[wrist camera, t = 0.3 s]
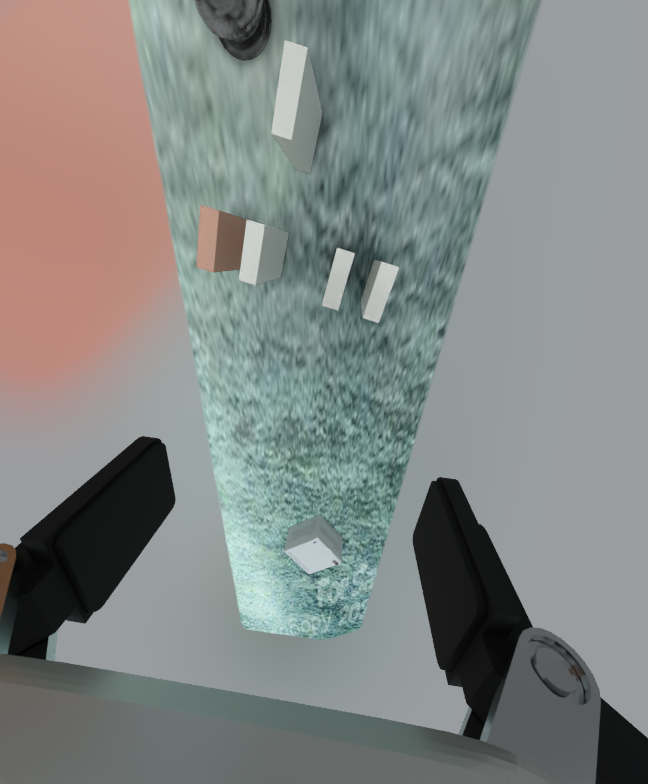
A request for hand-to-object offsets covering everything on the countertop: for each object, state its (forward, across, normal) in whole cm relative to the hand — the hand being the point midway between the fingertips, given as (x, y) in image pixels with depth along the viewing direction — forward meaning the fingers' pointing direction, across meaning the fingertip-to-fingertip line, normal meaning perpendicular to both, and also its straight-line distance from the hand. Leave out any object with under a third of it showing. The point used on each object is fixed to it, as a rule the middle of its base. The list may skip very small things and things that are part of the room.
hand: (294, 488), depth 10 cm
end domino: (+30, +12, -8) cm, 33 cm away
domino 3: (+30, 0, -5) cm, 30 cm away
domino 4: (+30, -4, -5) cm, 30 cm away
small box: (+30, -1, +41) cm, 51 cm away
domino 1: (+30, +8, -7) cm, 32 cm away
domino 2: (+30, +5, -18) cm, 35 cm away
